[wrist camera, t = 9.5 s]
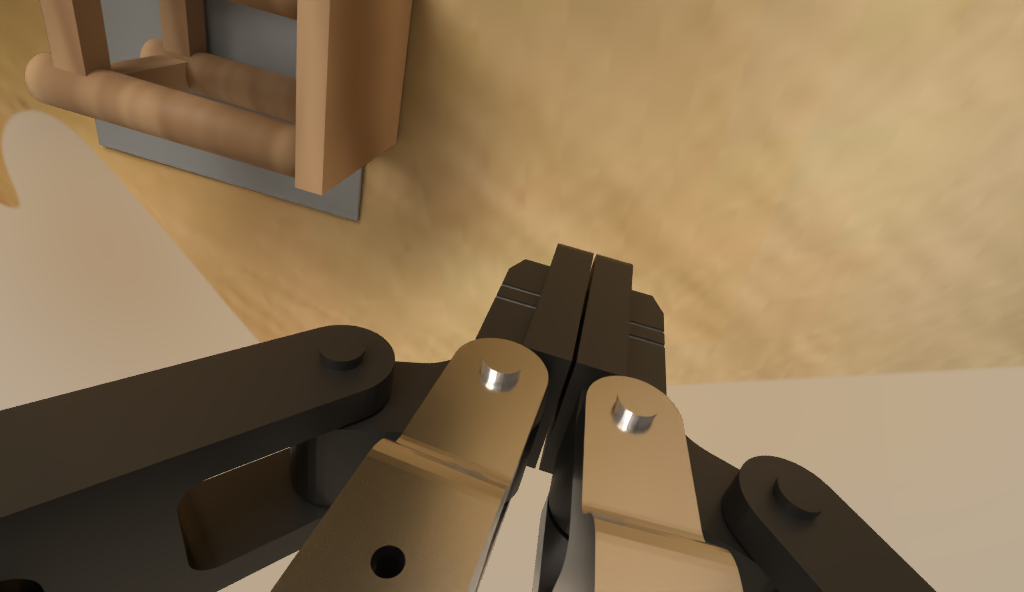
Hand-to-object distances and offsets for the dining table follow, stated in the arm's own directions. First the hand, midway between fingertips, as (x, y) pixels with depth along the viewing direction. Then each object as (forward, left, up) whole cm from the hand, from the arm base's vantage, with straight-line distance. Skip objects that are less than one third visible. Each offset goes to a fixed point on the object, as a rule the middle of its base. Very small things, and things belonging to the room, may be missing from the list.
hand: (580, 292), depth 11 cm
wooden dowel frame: (+9, 0, -11) cm, 14 cm away
